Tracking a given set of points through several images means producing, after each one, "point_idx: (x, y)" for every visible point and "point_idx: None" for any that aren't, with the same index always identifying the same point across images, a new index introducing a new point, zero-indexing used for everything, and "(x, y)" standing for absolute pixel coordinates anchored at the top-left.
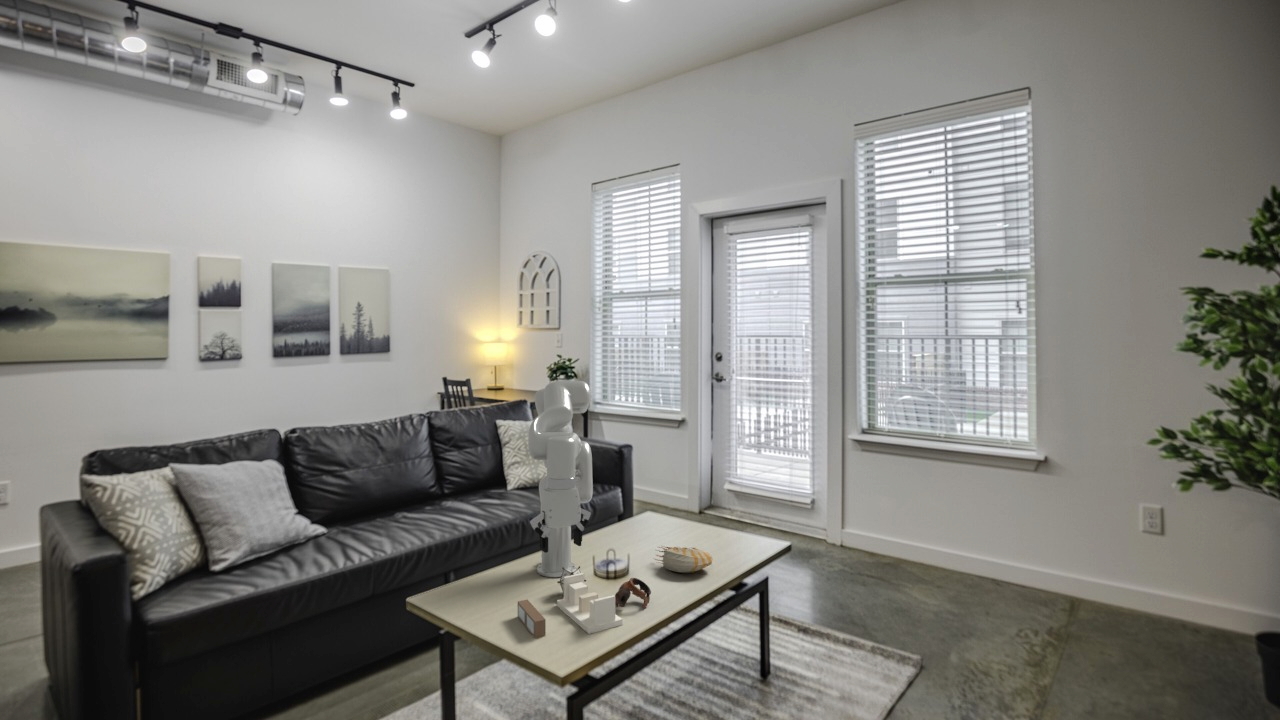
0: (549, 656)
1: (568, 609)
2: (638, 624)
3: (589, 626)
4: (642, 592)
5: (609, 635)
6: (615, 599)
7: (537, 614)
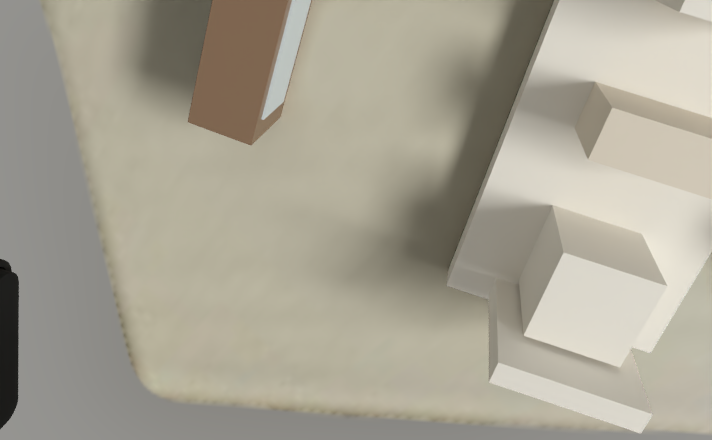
0: (183, 273)
1: (561, 17)
2: (699, 390)
3: (463, 276)
4: None
5: None
6: None
7: (253, 52)
